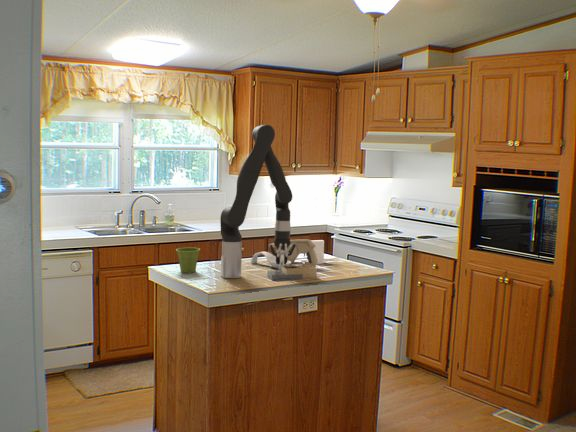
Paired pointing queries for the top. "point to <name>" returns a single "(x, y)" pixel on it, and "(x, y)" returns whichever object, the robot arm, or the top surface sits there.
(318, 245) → the base with upright slab
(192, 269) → the plant pot
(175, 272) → the top surface
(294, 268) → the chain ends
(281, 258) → the pin
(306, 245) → the gun
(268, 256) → the spoon rest
